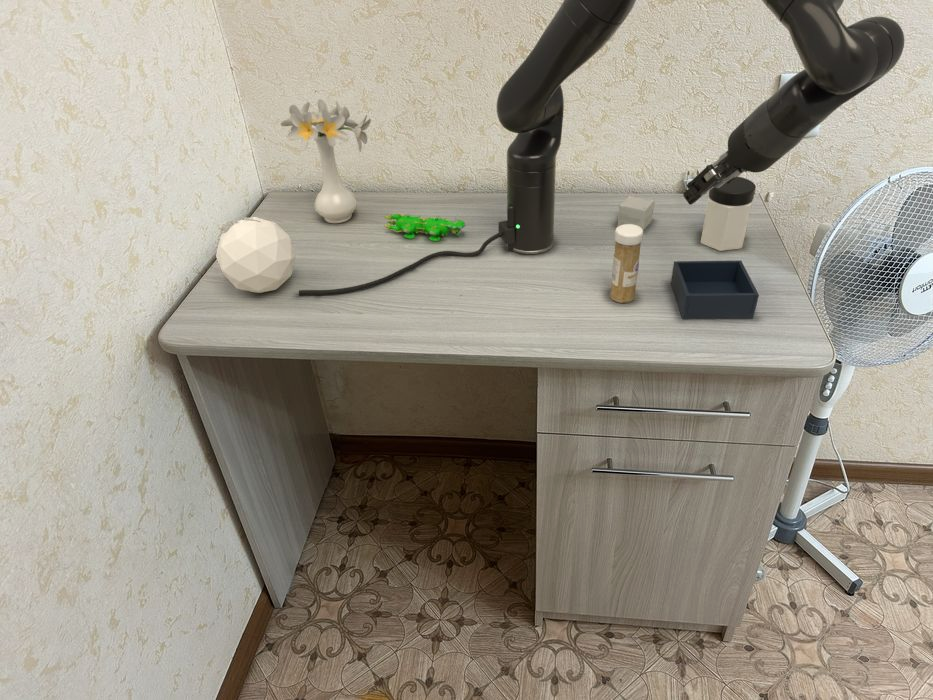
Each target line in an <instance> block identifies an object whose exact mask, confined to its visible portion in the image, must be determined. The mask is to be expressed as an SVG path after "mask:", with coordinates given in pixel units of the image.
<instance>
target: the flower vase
mask: <svg viewBox="0 0 933 700" xmlns="http://www.w3.org/2000/svg"><path fill="white" fill-rule="evenodd" d="M335 105H336V106H333V107H332V108H330V109H328V106H327V103H326V102H325V100H323V99H322V98H319V99H318V100H317V108H318V111H316V110H311V111H309V109H310V106H311V103H310V102H309V101H307V102H305V103H304V104H303V106H302V107H301V110H300V109H299V108H298V106H297V105H296V104H290V106H289V107H288V111H289V112H288V113H289V115H290V117H289V118H286V119H284V120H282V121H281V122H280V126H281V127H291V128H290V131H289V132H288V133H287V136H286V137H287V139H288V140H289V141H296V140H298V139H300V140H299V147H300V149H301V150H302V151H306V150H307V148H308V145H309V141H310V139H313V140H314V141H315V144H316V147H317V150H318V152H319V159H320V164H321V169H322V170H321V171H322V186H321V190H320V191H319V192H318V194H317V195H316V196H315V199H314V210H315V211H316V213H317V214H318V215H320V216H321V218H322V217H323V219H324V221H325V222H326V223H329V224H342V223H345V222H348V221H349V220H350V219H351V218H352V217H353V213H354V212H355V210H356V209H357V206H358V200H357V198H356V195H355V194H354V193H353V192H352V190H350V189H349V188H347V187H346V186H345V185H344V183H343V182H342V179H341V177H340V175H339V170H338V167H337V162H336V156H335V150H334V149H335V148H334V147H335V145H336V143H337V141H336V140H337V139H338V140H341V141H343V142H348V141H349V139H350V137H349V135H348V134H347V133H346V132H345V131H343V130H346V131H351V132H353V134H354V136H355V139H356V142H357V146H358V152H359V153H361V152H362V146H363V144H364V145H367V144H368V135H367V133H366V132H365V131H366V130H367V129H368V128H369V126H370V125H371V121H372V119H371V118H368V119H367V117H368V115H367V114H365V116H364V117H363V118H362V120H361V121H360V122H359V123H358V122H357V121H356V120H353V119H350V110H349V109H348V107H347V106H343V107H341V105H340V104H339V102H338V101H337V100H335ZM313 126H314V127H315V128H314V127H313ZM362 143H363V144H362Z"/></svg>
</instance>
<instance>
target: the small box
mask: <svg viewBox="0 0 933 700" xmlns="http://www.w3.org/2000/svg"><path fill="white" fill-rule="evenodd" d="M618 206H619V207H618V220H617V227H618V226H620V225H624V224H633V225H637V226H639V227H641V228H642V230H643V231H645V230H646V228H647V227H648V226H649V225H650V224H651V223H652V221H653V217H654V208H655V199H649V198H644V197H639V196H633V195H628V196H627V198H626V199H625V200H623V202H622V203H620V204H619V205H618Z"/></svg>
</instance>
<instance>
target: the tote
mask: <svg viewBox="0 0 933 700" xmlns="http://www.w3.org/2000/svg"><path fill="white" fill-rule="evenodd" d="M670 287H671V289H672V292H673V296H674V299H675V301H676V304H677V307H678V311H679V313H680V317H681V319H682V320H718V319H719V320H739V319H741V320H742V319H743V320H744V319H746V320H748V319H749V320H751V319H753V320H754V316H755V313H756V308H757V304H758V302H759V301H758V300H759V297H760V294H759V292H758V290H757V288H756V286H755V285H754V282H753V281H752V278H751V277H750V274H749V273H748V271H747V269H746V267H745V264H744V263H743V261H742V259H741V260H738V259H737V260H681V261H680V260H677V261H675V260H674V261H673V267H672V272H671V279H670Z"/></svg>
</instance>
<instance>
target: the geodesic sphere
mask: <svg viewBox="0 0 933 700" xmlns="http://www.w3.org/2000/svg"><path fill="white" fill-rule="evenodd" d="M222 225H223V226H221V227H220V228H219V230H221V231H223V233H222V234H221V235H220V238H219V242H218V246H217V249H216V254H215V257H216V260H217V262H218V265H219V266H220V269H221V271H222V274H223V276H225V277H226V279H227V280H228V281H229V282H230V283H231V284H232V285H233V286H234V287H235V288H236V289H237V290H241V291H245V292H251V293H254V294H255V293H256V294H263V293H267V292H271V291H276V290H278V289H279V288H280V287H281V286H282V285H283V284H284V283H285V282H286V281H287V280H288V279H289V278H290V277H291V276H292V275H293V271H294V267H295V262H296V258H297V253H296V250H295V247H294V245H293V242H292V241H293V240H292V237H290V235H288V233H287V232H285V230H284V229H283V228H282V227H281V226H280V225H279V224H278V223H276V222H273V221H270V220H267V219H264V218H260V217H257V216H252V217H249V216H248V217H247V216H246V215H245V216H243V219H240V220H237V221H234V222H231V221H230V222H227V223H226V224H222Z"/></svg>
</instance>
